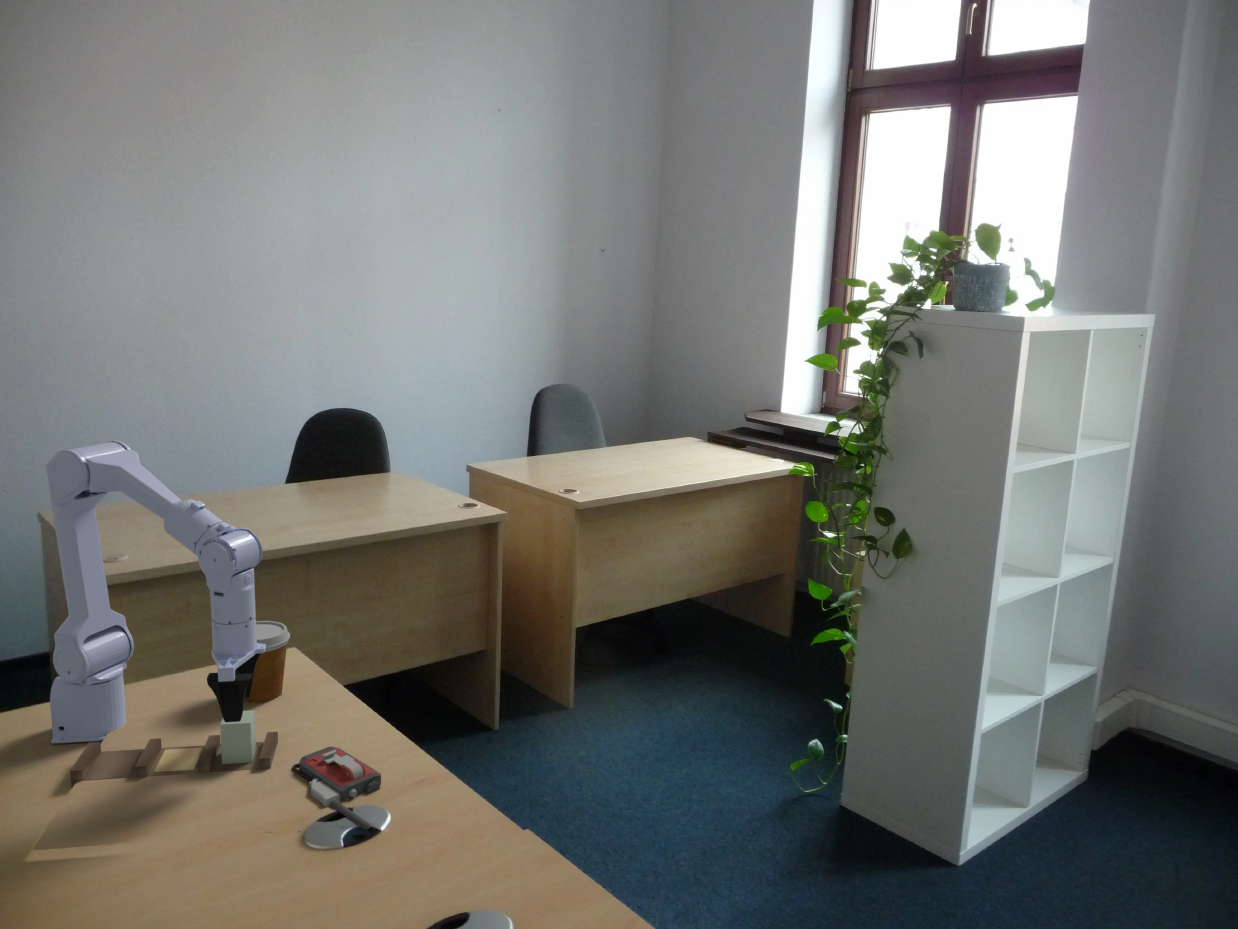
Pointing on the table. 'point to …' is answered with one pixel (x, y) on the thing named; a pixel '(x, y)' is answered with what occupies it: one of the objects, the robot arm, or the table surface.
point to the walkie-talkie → (338, 779)
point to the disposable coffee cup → (269, 662)
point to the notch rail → (165, 760)
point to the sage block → (238, 739)
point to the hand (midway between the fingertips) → (237, 708)
